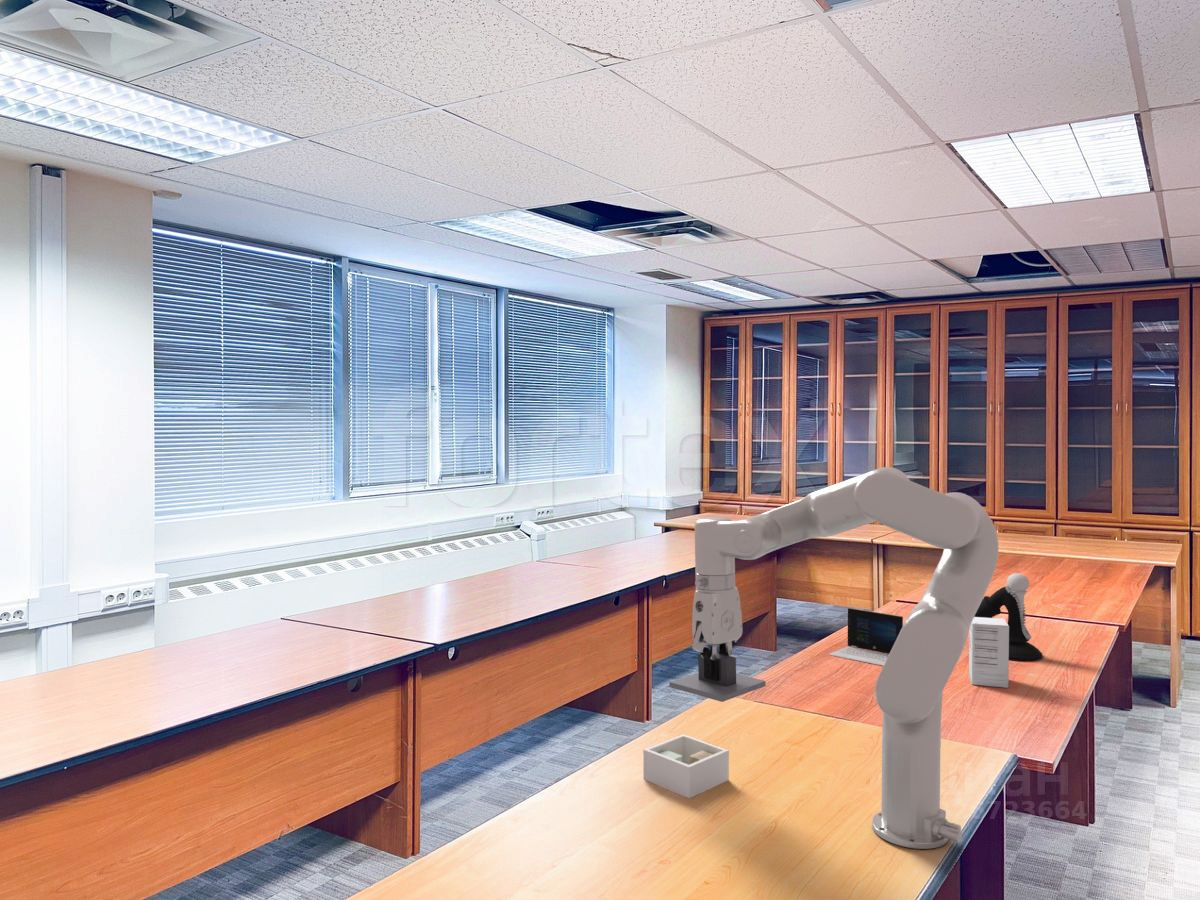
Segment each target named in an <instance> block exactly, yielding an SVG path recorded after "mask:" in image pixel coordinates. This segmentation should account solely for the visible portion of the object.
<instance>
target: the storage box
mask: <svg viewBox="0 0 1200 900" xmlns="http://www.w3.org/2000/svg"><path fill="white" fill-rule="evenodd" d="M667 750H669V751H671V752H674V753H676V754H679V755H682V756H683V762H680V761H677V760H675V759H672V758H670V757H667V756H665V755H662V754H659V753H662V752H664V751H667ZM700 751H705V752H708V753H711V754H713V755H711V756H709V757H706V758H704V759H701V760H699V761H697V762H694V763H692V764H690V756H691V755H693V754H695V753H698V752H700ZM729 751H730V750H729V749H726V748H723V747H720V746H718V745H715V744H711V743H709V742H706V741H704V740H700V739H698V738H695V737H692V736H690V735H687V734H684V733H683V734H680V735H678V736H674V737H672V738H670V739H667V740H665V741H662V742H659V743H657V744H654V745H652V746H648V747H647V748H644V749H643V780H645V781H647V782H650V783H652V784H654V785H657V786H659V787H661V788H664V789H665V790H668V791H671V792H673V793H676V794H678V795H679V796H682V797H685V798H687V799H692V798H693V797H695V796H698V795H699V794H702V793H704V792H706V791H708V790H710V789H712V788H714V787H717V786H719V785H721V784H723V783H725V782H727V781H729V780H730V775H729V773H730V769H729V768H730V766H729V765H730V764H729V763H730V761H729V760H730V755H729V754H730V752H729Z"/></svg>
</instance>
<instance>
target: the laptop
mask: <svg viewBox="0 0 1200 900" xmlns="http://www.w3.org/2000/svg"><path fill="white" fill-rule="evenodd" d="M903 625H904V616H903V615H896V614H888V613H883V612H877V611H871V610H865V609H860V608H852V607H847V646H845V647H843V648H840V649H838V650H836V651H835V650H834V651H832V652H831V653H829V654H828V655H829V656H833V657H837V658H841V659H846V660H852V661H856V662H861V663H867V664H870V665H871V664H872V665H876V666H880V667H883V666H884V664H885V662H886V660H887V658H888V656H889V654H890V652H891V649H892V647H893V645H894V643H895V641H896V639H897V637H898V635H899V633H900V631H901V629H902V627H903Z"/></svg>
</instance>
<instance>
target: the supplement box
mask: <svg viewBox="0 0 1200 900" xmlns="http://www.w3.org/2000/svg"><path fill="white" fill-rule="evenodd" d="M968 637H969V650H968V652H969V653H968V655H969V656H968V659H969V660H968V662H969V663H968V666H969V667H968V677H969V680H970V683H971V685H973V686H985V687H997V688H1006V689H1009V677H1010V676H1009V674H1010V673H1009V662H1010V660H1009V626H1008V621H1006V619H1005V618H1000V617H996V618H995V617H992V618H983V617H974V618H973V620H972V623H971V625H970V628H969V632H968Z"/></svg>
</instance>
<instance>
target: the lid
mask: <svg viewBox="0 0 1200 900" xmlns="http://www.w3.org/2000/svg"><path fill="white" fill-rule="evenodd" d="M697 660H698V661H697V662H698V666H697V667H698V672H696V673H693V674H690V675H687V676H684V677H681V678H678V679H677V678H676V679H674V680H672V681H669V683H668V684H669V688H671V689H675V690H678V691H682V692H685V693H690V694H693V695H697V696H700V697H703V698H706V699H710V700H714V701H718V702H722V703H723V702H727V701H729V700H731V699H735V698H737V697H740V696H742V695H745V694H748V693H750V692H753V691H757V690H759V689H762V688H764V687H766V686H767V685H766V680H763V679H758V678H755V677H751V676H747V675H742V674H738V673H737V657H735V656H732V655H731V656H727V655H723V654H719V653H718V652H716V660H718V666H719V680H718V681H713V680H709V679H706V678H705V677H704V658H702V657H701V654H700V653H699V652H698V653H697Z"/></svg>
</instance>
